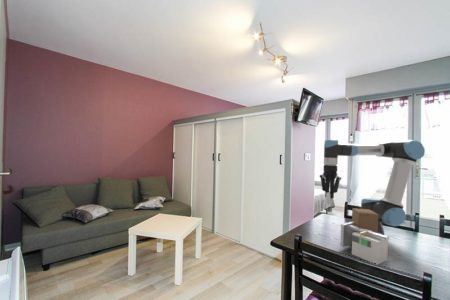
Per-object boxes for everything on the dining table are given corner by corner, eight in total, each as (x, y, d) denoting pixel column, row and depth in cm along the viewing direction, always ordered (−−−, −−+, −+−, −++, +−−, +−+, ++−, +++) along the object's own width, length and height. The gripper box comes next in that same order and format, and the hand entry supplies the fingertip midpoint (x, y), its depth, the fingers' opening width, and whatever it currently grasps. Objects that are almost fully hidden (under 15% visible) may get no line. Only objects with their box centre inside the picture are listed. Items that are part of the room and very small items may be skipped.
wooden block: (377, 250, 116) (378, 214, 116) (357, 247, 118) (359, 212, 118) (369, 242, 126) (370, 209, 126) (350, 240, 128) (352, 208, 128)
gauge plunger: (352, 242, 121) (353, 221, 121) (392, 257, 104) (393, 233, 104) (339, 246, 115) (340, 224, 115) (380, 263, 98) (381, 237, 98)
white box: (361, 250, 116) (362, 230, 116) (387, 260, 105) (387, 238, 105) (351, 253, 110) (351, 233, 110) (376, 265, 100) (377, 242, 100)
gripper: (316, 164, 132) (315, 201, 132) (337, 165, 120) (336, 206, 120) (324, 164, 136) (322, 200, 136) (345, 165, 124) (343, 205, 124)
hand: (329, 203), depth 128 cm, fingers closed
